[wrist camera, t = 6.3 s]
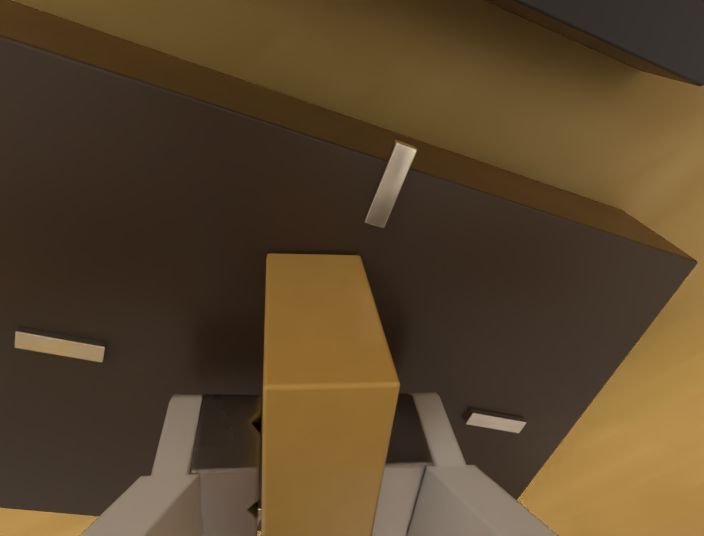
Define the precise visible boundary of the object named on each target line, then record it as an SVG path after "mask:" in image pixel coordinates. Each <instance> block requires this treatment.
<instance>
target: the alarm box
mask: <svg viewBox="0 0 704 536" xmlns="http://www.w3.org/2000/svg"><path fill="white" fill-rule="evenodd" d="M485 1H487V2H490V3H492V4H494V5H496V6H499V7H501V8H503V9H505V10H507V11H510V12H512V13H514V14H516V15H519V16H521V17H523V18H525V19H527V20H530V21H532V22H534V23H536V24H539V25H541V26H543V27H545V28H547V29H550V30H552V31H554V32H556V33H559V34H561V35H563V36H565V37H567V38H570V39H572V40H574V41H576V42H579V43H581V44H583V45H585V46H587V47H590V48H592V49H594V50H596V51H599V52H601V53H603V54H605V55H607V56H610V57H612V58H614V59H616V60H619V61H621V62H623V63H625V64H628V65H630V66H632V67H634V68H636V69H639V70H641V71H643V72H647V73H651V74H655V75H659V76H662V77H666V78H670V79H674V80H678V81H682V82H685V83H689V84H693V85H697V86H703V85H704V0H485Z"/></svg>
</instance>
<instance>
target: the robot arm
mask: <svg viewBox="0 0 704 536" xmlns="http://www.w3.org/2000/svg"><path fill="white" fill-rule="evenodd" d="M261 414H262V395H227V394H204V395H186V394H174V395H173V396H172V398H171V400H170V401H169V405H168V409H167V413H166V417H165V421H164V425H163V429H162V433H161V437H160V441H159V445H158V449H157V453H156V457H155V461H154V465H153V469H152V473H151V475H150V476H141V477H140V478H138V479H137V480H136V481H135V482H134V483H133V484H132V485H131V486H130V487H129V488H128V489H127V490H126V491H125V492H124V493H123V494H122V495H121V496H120V497H119V498H118V499H117V500H116V501H115V502H114V503H113V504H112V505H111V506H110V507H108V508H107V509H106V510H105V511H104V512H103V513H102V514H101V515H100V516H99V517H98V518H97V519H96V520H95V521H94V522H93V523H92V524H91V525H90V526H89V527H88V528H87V529H86V530H85V531H84V532H83V533H82V534H81V535H80V536H257V524H258V501H259V473H260V442H261ZM372 536H558V535H557V534H556V533H555V532H554V531H552V530H551V529H550V528H549V527H548V526H546V525H545V524H544V523H543V522H542V521H541V520H539V519H538V518H537V517H536V516H535V515H533V514H532V513H531V512H530V511H529V510H528V509H526V508H525V507H524V506H523V505H522V504H520V503H519V502H518V501H517V500H516V499H515V498H513V497H512V496H511V495H510V494H509V493H507V492H506V491H505V490H504V489H503V488H501V487H500V486H499V485H498V484H497V483H496V482H494V481H493V480H492V479H491V478H490V477H488V476H487V475H486V474H485V473H484V472H483V471H481V470H480V469H479V468H478V467H477V466H475V465H466V462H465V460H464V457H463V455H462V452H461V450H460V447H459V445H458V442H457V440H456V437H455V435H454V432H453V429H452V427H451V424H450V422H449V419H448V417H447V414H446V412H445V409H444V407H443V404H442V402H441V399H440V396H439V395H438V394H437V393H436V392H425V393H409V394H408V393H399V394H398V399H397V405H396V410H395V415H394V421H393V426H392V431H391V436H390V442H389V447H388V452H387V458H386V463H385V468H384V474H383V479H382V484H381V489H380V495H379V500H378V505H377V511H376V516H375V521H374V527H373V532H372Z"/></svg>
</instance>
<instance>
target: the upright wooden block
mask: <svg viewBox="0 0 704 536" xmlns="http://www.w3.org/2000/svg"><path fill="white" fill-rule="evenodd" d="M399 389H400V382H399V379H398V376H397V372H396V369H395V366H394V363H393V359H392V356H391V353H390V350H389V346H388V343H387V340H386V337H385V334H384V330H383V327H382V324H381V321H380V317H379V314H378V311H377V308H376V304H375V301H374V298H373V295H372V291H371V288H370V285H369V282H368V279H367V275H366V272H365V269H364V266H363V262H362V259H361V256H359V255H323V254H274V253H270V254H267V256H266V284H265V322H264V360H263V412H262V508H261V536H372V532H373V527H374V521H375V516H376V511H377V505H378V500H379V495H380V489H381V484H382V479H383V474H384V468H385V463H386V458H387V452H388V447H389V442H390V436H391V431H392V426H393V421H394V415H395V410H396V405H397V399H398V394H399Z"/></svg>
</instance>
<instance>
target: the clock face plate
mask: <svg viewBox="0 0 704 536" xmlns="http://www.w3.org/2000/svg"><path fill="white" fill-rule="evenodd" d="M270 253H274V254H323V255H359V256H361V259H362V262H363V266H364V269H365V272H366V275H367V279H368V282H369V285H370V288H371V291H372V295H373V298H374V301H375V304H376V308H377V311H378V314H379V317H380V321H381V324H382V327H383V330H384V334H385V337H386V340H387V343H388V346H389V350H390V353H391V356H392V359H393V363H394V366H395V369H396V372H397V376H398V379H399V382H400V389H399V393H408V394H409V393H425V392H436V393H437V394H438V395H439V396H440V399H441V402H442V404H443V407H444V409H445V412H446V414H447V417H448V419H449V422H450V424H451V427H452V429H453V432H454V435H455V437H456V440H457V442H458V445H459V447H460V450H461V452H462V455H463V457H464V460H465V462H466V465H475V466H477V467H478V468H479V469H480V470H481V471H483V472H484V473H485V474H486V475H487V476H488V477H490V478H491V479H492V480H493V481H494V482H496V483H497V484H498V485H499V486H500V487H501V488H503V489H504V490H505V491H506V492H507V493H509V494H510V495H511V496H512V497H513V498H515V499H516V500H517V499H518V498H519V496H520V495H521V494H522V492H523V491H524V490H525V489H526V487H527V486H528V485H529V483H530V482H531V481H532V479H533V478H534V477H535V475H536V474H537V473H538V471H539V470H540V469H541V468H542V466H543V465H544V464H545V462H546V461H547V460H548V458H549V457H550V456H551V454H552V453H553V452H554V450H555V449H556V448H557V447H558V445H559V444H560V443H561V441H562V440H563V439H564V437H565V436H566V435H567V433H568V432H569V431H570V430H571V428H572V427H573V426H574V424H575V423H576V422H577V420H578V419H579V418H580V416H581V415H582V414H583V412H584V411H585V410H586V409H587V407H588V406H589V405H590V403H591V402H592V401H593V399H594V398H595V397H596V395H597V394H598V393H599V391H600V390H601V389H602V388H603V386H604V385H605V384H606V382H607V381H608V380H609V378H610V377H611V376H612V374H613V373H614V372H615V370H616V369H617V368H618V367H619V365H620V364H621V363H622V361H623V360H624V359H625V357H626V356H627V355H628V353H629V352H630V351H631V350H632V348H633V347H634V346H635V344H636V343H637V342H638V340H639V339H640V338H641V336H642V335H643V334H644V332H645V331H646V330H647V329H648V327H649V326H650V325H651V323H652V322H653V321H654V319H655V318H656V317H657V315H658V314H659V313H660V311H661V310H662V309H663V308H664V306H665V305H666V304H667V302H668V301H669V300H670V298H671V297H672V296H673V294H674V293H675V292H676V290H677V289H678V288H679V287H680V285H681V284H682V283H683V281H684V280H685V279H686V277H687V276H688V275H689V273H690V272H691V271H692V269H693V268H694V267H695V266H696V264H697V261H696V260H695V259H694V258H692V257H691V256H689V255H688V254H686V253H685V252H683V251H682V250H680V249H679V248H677V247H676V246H674V245H673V244H671V243H670V242H668V241H667V240H665V239H664V238H662V237H661V236H659V235H658V234H656V233H655V232H654V231H652V230H651V229H649V228H648V227H646V226H645V225H643V224H642V223H640V222H639V221H637V220H636V219H634V218H633V217H631V216H630V215H628V214H627V213H625V212H624V211H622V210H619V209H616V208H613V207H611V206H608V205H605V204H602V203H599V202H596V201H593V200H590V199H587V198H584V197H581V196H578V195H576V194H573V193H570V192H567V191H564V190H561V189H558V188H555V187H552V186H549V185H546V184H543V183H541V182H538V181H535V180H532V179H529V178H526V177H523V176H520V175H517V174H514V173H511V172H508V171H506V170H503V169H500V168H497V167H494V166H491V165H488V164H485V163H482V162H479V161H476V160H473V159H471V158H468V157H465V156H462V155H459V154H456V153H453V152H450V151H447V150H444V149H441V148H439V147H436V146H433V145H430V144H427V143H424V142H421V141H418V140H415V139H412V138H409V137H406V136H404V135H401V134H398V133H395V132H392V131H389V130H386V129H383V128H380V127H377V126H374V125H371V124H369V123H366V122H363V121H360V120H357V119H354V118H351V117H348V116H345V115H342V114H339V113H336V112H334V111H331V110H328V109H325V108H322V107H319V106H316V105H313V104H310V103H307V102H304V101H302V100H299V99H296V98H293V97H290V96H287V95H284V94H281V93H278V92H275V91H272V90H269V89H267V88H264V87H261V86H258V85H255V84H252V83H249V82H246V81H243V80H240V79H237V78H234V77H232V76H229V75H226V74H223V73H220V72H217V71H214V70H211V69H208V68H205V67H202V66H199V65H197V64H194V63H191V62H188V61H185V60H182V59H179V58H176V57H173V56H170V55H167V54H164V53H162V52H159V51H156V50H153V49H150V48H147V47H144V46H141V45H138V44H135V43H132V42H130V41H127V40H124V39H121V38H118V37H115V36H112V35H109V34H106V33H103V32H100V31H97V30H95V29H92V28H89V27H86V26H83V25H80V24H77V23H74V22H71V21H68V20H65V19H62V18H60V17H57V16H54V15H51V14H48V13H45V12H42V11H39V10H36V9H33V8H30V7H27V6H25V5H22V4H19V3H16V2H13V1H10V0H0V508H11V509H23V510H34V511H45V512H56V513H67V514H79V515H90V516H100V515H101V514H102V513H103V512H104V511H105V510H106V509H107V508H108V507H110V506H111V505H112V504H113V503H114V502H115V501H116V500H117V499H118V498H119V497H120V496H121V495H122V494H123V493H124V492H125V491H126V490H127V489H128V488H129V487H130V486H131V485H132V484H133V483H134V482H135V481H136V480H137V479H138V478H140V477H141V476H150V475H151V473H152V469H153V465H154V461H155V457H156V453H157V449H158V445H159V441H160V437H161V433H162V429H163V425H164V421H165V417H166V413H167V409H168V405H169V401H170V400H171V398H172V396H173V395H174V394H186V395H204V394H227V395H262V412H263V360H264V322H265V284H266V256H267V254H270ZM261 508H262V414H261V442H260V473H259V501H258V524H257V530H258V531H261Z"/></svg>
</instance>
